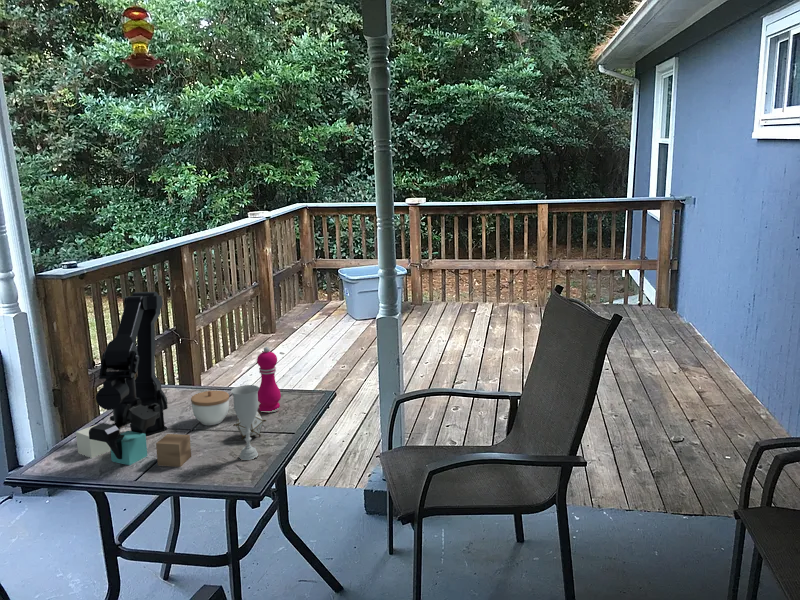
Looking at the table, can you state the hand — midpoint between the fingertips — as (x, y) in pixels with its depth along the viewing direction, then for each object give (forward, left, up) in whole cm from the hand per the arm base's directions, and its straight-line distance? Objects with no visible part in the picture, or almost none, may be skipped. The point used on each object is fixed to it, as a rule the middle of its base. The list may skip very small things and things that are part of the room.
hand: (129, 454), depth 168 cm
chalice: (-21, +22, -1) cm, 30 cm away
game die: (-29, +11, -2) cm, 31 cm away
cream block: (+4, -11, -1) cm, 12 cm away
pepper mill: (-45, -2, -1) cm, 45 cm away
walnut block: (-7, +10, -1) cm, 12 cm away
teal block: (0, 0, -1) cm, 1 cm away
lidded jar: (-28, -7, -2) cm, 29 cm away
